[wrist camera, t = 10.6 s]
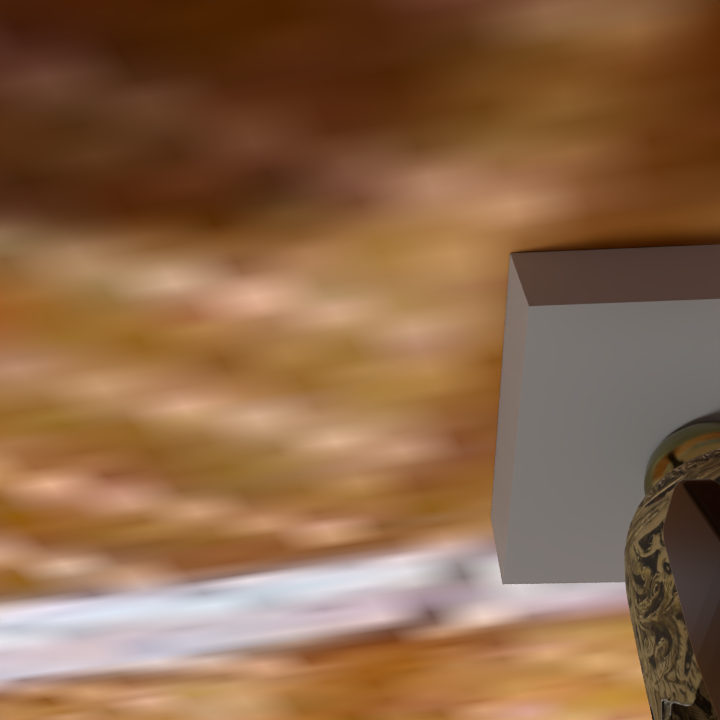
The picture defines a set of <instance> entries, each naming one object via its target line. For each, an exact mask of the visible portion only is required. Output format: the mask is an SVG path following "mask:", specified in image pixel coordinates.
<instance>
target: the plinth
mask: <svg viewBox="0 0 720 720" xmlns="http://www.w3.org/2000/svg"><path fill="white" fill-rule="evenodd" d="M718 420H719V421H720V244H717V245H693V246H670V247H646V248H623V249H599V250H575V251H552V252H528V253H510V263H509V277H508V290H507V304H506V318H505V331H504V345H503V359H502V372H501V386H500V400H499V414H498V427H497V441H496V455H495V468H494V482H493V496H492V510H491V521H492V527H493V532H494V538H495V544H496V549H497V555H498V561H499V566H500V572H501V578H502V583H503V584H541V583H597V582H625V564H624V552H625V545H626V539H627V533H628V530H629V527H630V524H631V521H632V519H633V516H634V514H635V512H636V510H637V508H638V506H639V505H640V503H641V502H642V500H643V499H644V497H645V493H644V476H645V470H646V466H647V463H648V460H649V458H650V456H651V455H652V453H653V451H654V450H655V449H656V448H657V447H658V446H659V445H660V444H661V443H662V442H663V441H664V440H665V439H666V438H668V437H669V436H670V435H672V434H674V433H675V432H677V431H679V430H681V429H683V428H685V427H688V426H691V425H694V424H697V423H702V422H707V421H718Z"/></svg>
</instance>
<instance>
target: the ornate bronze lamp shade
mask: <svg viewBox="0 0 720 720" xmlns="http://www.w3.org/2000/svg"><path fill="white" fill-rule="evenodd" d="M684 479H712V480H714V481H716V482H718V483H720V421H719V420H718V421H707V422H702V423H697V424H694V425H691V426H688V427H685V428H683V429H681V430H679V431H677V432H675V433H674V434H672V435H670V436H669V437H668V438H666V439H665V440H664V441H663V442H662V443H661V444H660V445H659V446H658V447H657V448H656V449H655V450H654V451H653V453H652V455H651V456H650V458H649V460H648V463H647V466H646V470H645V476H644V493H645V497H644V499H643V500H642V502H641V503H640V505H639V506H638V508H637V510H636V512H635V514H634V516H633V519H632V521H631V524H630V527H629V530H628V533H627V539H626V545H625V552H624V564H625V583H626V592H627V598H628V604H629V610H630V616H631V621H632V626H633V631H634V636H635V641H636V646H637V650H638V655H639V660H640V665H641V669H642V674H643V679H644V683H645V688H646V692H647V697H648V701H649V705H650V710H651V714H652V719H653V720H718V717H717V714H716V712H715V709H714V707H713V704H712V702H711V699H710V696H709V694H708V691H707V689H706V686H705V684H704V681H703V678H702V676H701V673H700V670H699V667H698V664H697V662H696V659H695V655H694V652H693V649H692V645H691V642H690V638H689V634H688V631H687V627H686V623H685V619H684V616H683V612H682V608H681V604H680V600H679V597H678V593H677V589H676V585H675V582H674V578H673V574H672V570H671V567H670V563H669V559H668V555H667V552H666V548H665V544H664V538H663V526H664V521H665V518H666V514H667V511H668V507H669V504H670V500H671V497H672V494H673V490H674V487H675V485H676V484H677V483H678V482H679V481H680V480H684Z"/></svg>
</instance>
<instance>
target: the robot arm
mask: <svg viewBox="0 0 720 720" xmlns="http://www.w3.org/2000/svg"><path fill="white" fill-rule="evenodd" d="M663 538H664V544H665V548H666V552H667V555H668V559H669V563H670V567H671V570H672V574H673V578H674V582H675V585H676V589H677V593H678V597H679V600H680V604H681V608H682V612H683V616H684V619H685V623H686V627H687V631H688V634H689V638H690V642H691V645H692V649H693V652H694V655H695V659H696V662H697V664H698V667H699V670H700V673H701V676H702V678H703V681H704V684H705V686H706V689H707V691H708V694H709V696H710V699H711V702H712V704H713V707H714V709H715V712H716V714H717V717H718V720H720V483H718V482H716V481H714V480H712V479H684V480H680V481H679V482H678V483H677V484H676V485H675V487H674V490H673V494H672V497H671V500H670V504H669V507H668V511H667V514H666V518H665V521H664V526H663Z"/></svg>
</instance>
